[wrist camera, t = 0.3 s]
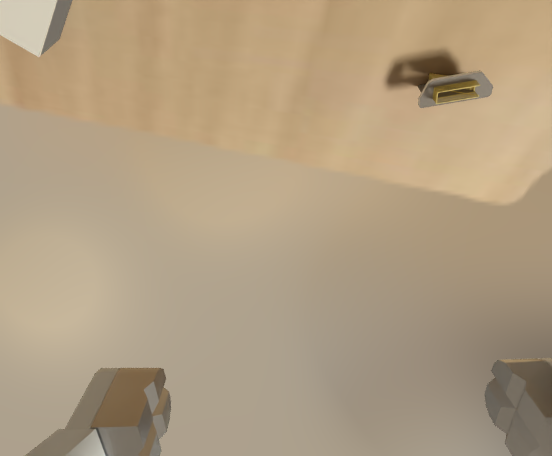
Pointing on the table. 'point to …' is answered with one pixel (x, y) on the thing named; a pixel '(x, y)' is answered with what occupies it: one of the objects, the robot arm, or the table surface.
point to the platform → (454, 88)
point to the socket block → (33, 22)
